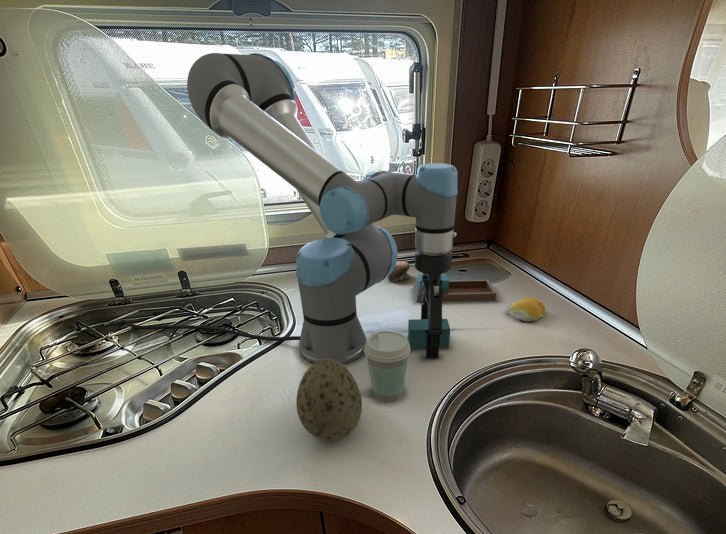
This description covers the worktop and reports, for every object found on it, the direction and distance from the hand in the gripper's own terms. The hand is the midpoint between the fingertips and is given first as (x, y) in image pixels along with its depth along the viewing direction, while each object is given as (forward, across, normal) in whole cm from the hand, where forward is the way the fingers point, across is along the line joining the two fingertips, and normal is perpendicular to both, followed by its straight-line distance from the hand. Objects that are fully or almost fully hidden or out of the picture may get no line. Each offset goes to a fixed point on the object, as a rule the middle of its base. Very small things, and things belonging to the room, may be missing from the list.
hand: (429, 342), depth 98 cm
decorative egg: (0, -30, +20) cm, 36 cm away
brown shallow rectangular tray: (0, +26, -10) cm, 28 cm away
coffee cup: (0, -19, +10) cm, 21 cm away
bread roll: (0, +13, -27) cm, 30 cm away
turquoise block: (0, +26, -4) cm, 26 cm away
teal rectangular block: (0, 0, 0) cm, 0 cm away
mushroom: (0, +38, +5) cm, 38 cm away
